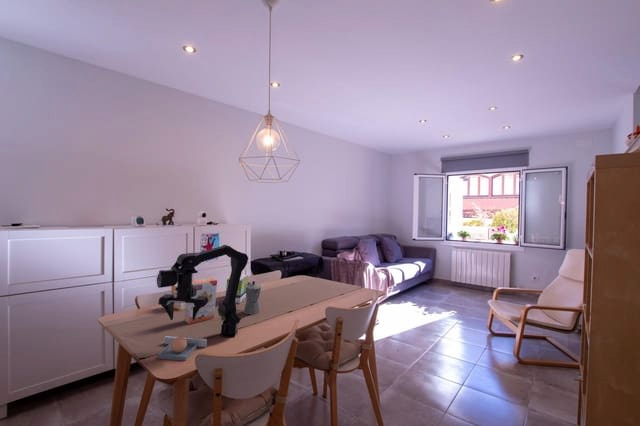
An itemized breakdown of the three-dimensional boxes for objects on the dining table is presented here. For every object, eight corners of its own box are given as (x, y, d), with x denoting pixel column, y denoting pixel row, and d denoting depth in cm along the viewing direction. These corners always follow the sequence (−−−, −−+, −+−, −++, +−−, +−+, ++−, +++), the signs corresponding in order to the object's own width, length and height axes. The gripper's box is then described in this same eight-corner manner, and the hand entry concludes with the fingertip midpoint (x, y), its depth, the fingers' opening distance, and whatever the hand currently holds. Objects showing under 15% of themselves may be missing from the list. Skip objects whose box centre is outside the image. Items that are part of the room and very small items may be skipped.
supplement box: (169, 307, 169) (171, 284, 168) (176, 305, 173) (177, 283, 173) (180, 310, 166) (182, 287, 166) (187, 307, 170) (188, 285, 170)
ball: (188, 348, 125) (190, 334, 125) (182, 356, 119) (183, 341, 119) (174, 347, 125) (175, 333, 125) (167, 354, 119) (168, 340, 119)
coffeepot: (263, 314, 169) (265, 283, 168) (247, 317, 164) (249, 285, 163) (253, 306, 182) (255, 277, 181) (238, 307, 177) (240, 278, 176)
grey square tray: (197, 347, 127) (197, 343, 127) (185, 360, 116) (185, 356, 116) (171, 345, 127) (171, 341, 127) (157, 358, 116) (157, 354, 116)
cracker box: (189, 324, 148) (191, 283, 148) (183, 321, 153) (186, 280, 152) (215, 318, 159) (217, 279, 158) (209, 314, 163) (212, 277, 162)
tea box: (240, 303, 184) (242, 280, 184) (224, 302, 184) (226, 278, 184) (246, 296, 199) (248, 274, 199) (232, 295, 199) (233, 273, 199)
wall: (206, 346, 129) (207, 339, 129) (205, 347, 128) (206, 340, 128) (165, 343, 129) (165, 336, 128) (164, 343, 128) (164, 337, 128)
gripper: (213, 280, 133) (211, 314, 134) (171, 277, 133) (169, 312, 133) (204, 287, 122) (202, 324, 123) (158, 284, 122) (156, 322, 122)
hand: (182, 320), depth 126 cm, fingers open, 9 cm apart
